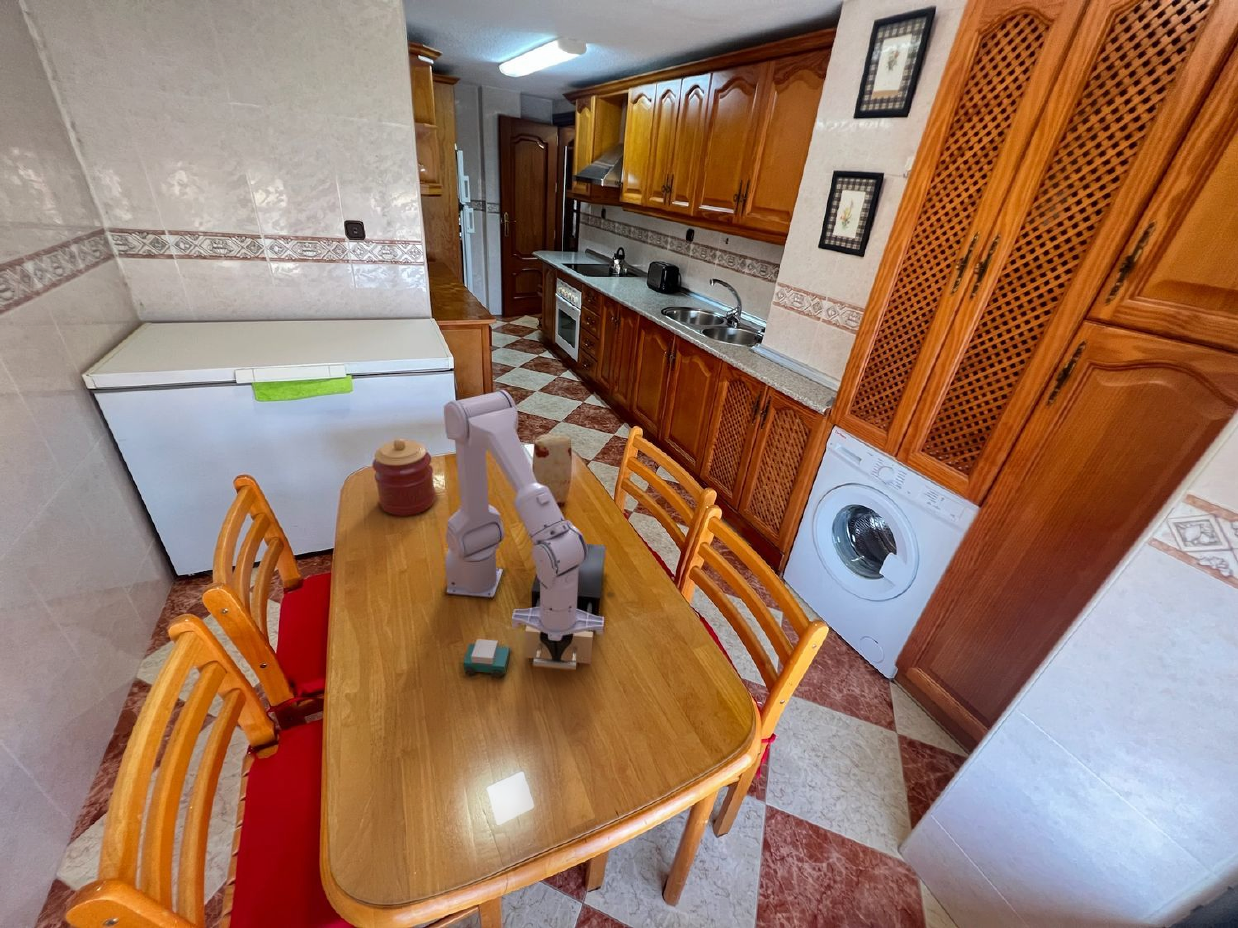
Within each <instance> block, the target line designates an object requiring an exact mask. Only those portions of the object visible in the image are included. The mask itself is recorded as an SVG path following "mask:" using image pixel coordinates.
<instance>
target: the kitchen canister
mask: <svg viewBox="0 0 1238 928" xmlns="http://www.w3.org/2000/svg"><path fill="white" fill-rule="evenodd" d="M431 462H432V456H431V454H430V453H429V452H427V447H426V446H425V445H423V444H422V443H420V442H418V441H414V440H411V439H403V438H396V439H395V440H392V441H389V442H387V443H385V444H384V445H382V446H380V447H379V448H378V449H377V450H375V452H374V459H373V460H372V464H371V465H372V469H373V470H374V471H375V474H374V480H375V482H376V487H377V492H378V502H379V505H380V506H381V508H382V510H383V511H384V512H385V513H387V514H389V515H392V516H398V517H399V516H400V517H402V516H403V517H406V516H413V515H417V514H420V513H422V512H424V511H426V510H428V509H429V508H431V507H432V506H433V504H434V503H435V501H436V494H437V493H436V492H437V491H436V488H435V484H434V483H435V482H434V475H433V473H434V469H433V467H432V465H431Z"/></svg>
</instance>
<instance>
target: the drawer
mask: <svg viewBox="0 0 1238 928" xmlns="http://www.w3.org/2000/svg"><path fill="white" fill-rule="evenodd" d="M593 603H594V600H589V599H578V598H577V609H579V610H582V611H584V612H587V613H589V614H592V611H593ZM536 607H540V595H539V596H538V600H537V604H536ZM540 632H541V631H539V630H537V629H534V628H532V627H529V626H527V625H525V630H524V641H525V642H524V643H525V644H524V646H525V647H524V648H525V649H524V651H525V653H524V654H525V658H529V659H533V661H532V667H534V668H545V669H555V670H563V671H564V670H566V671H577V663H580V664H591V659H592V648H593V637H594V631H591V630H589V631H584V632H578V633H574V634H573V640H572V642H571V644H570V645H569V646H568V647H567V648H566V649H565V651H564V652H563V654H562V657H561V660H556V659H552V656H551V654H550V652H549V650H548V648H547V647H546V646H545V645H544V644H543V643H542V642H541V641H540Z"/></svg>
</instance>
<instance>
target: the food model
mask: <svg viewBox="0 0 1238 928" xmlns="http://www.w3.org/2000/svg"><path fill="white" fill-rule="evenodd" d="M572 451H573V450H572V440H571V438H570V436H568V435H564V434H560V435H559V434H554V433H543V434H541V435H539V436H537V437H536V438H535V440H534V443H533V451H532V452H533V453H532V467H531V469H532V471H533V473H534V476H535V478H536V481H537V483H539V484H541V485H544V486H546V487H548V488H549V490H550V492H551V494H552V496H553V498H554V500H555V501H556V503H557V505H558V507H561V506H563V505H565V504H566V502H567V500H568V497H569V493H570V488H571V482H572V481H571V480H572V473H573V452H572Z"/></svg>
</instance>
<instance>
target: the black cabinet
mask: <svg viewBox="0 0 1238 928" xmlns="http://www.w3.org/2000/svg"><path fill="white" fill-rule="evenodd" d="M586 545H587V549H588V555H587V558H586V560H585V561H582V563H580V564H578V565H579V569H578V591H577V598H578V599H589V600H594V603H593V611H592V615H595V616H599V617H600V610H601V600H602V599H601V598H602V590H603V589H602V588H603V581H604V570H605V560H606V547H607V546H606V545H603V544H602V545H601V544H591V543H586ZM530 593H531V596H530V597H531V602H530V603H531V606H530V608H534V607H536V604H537V600H538V596H539V595H540V580H539V579H538V577H537V574H536V573H535V576H534V580H533V583H532V588H531V592H530Z"/></svg>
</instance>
